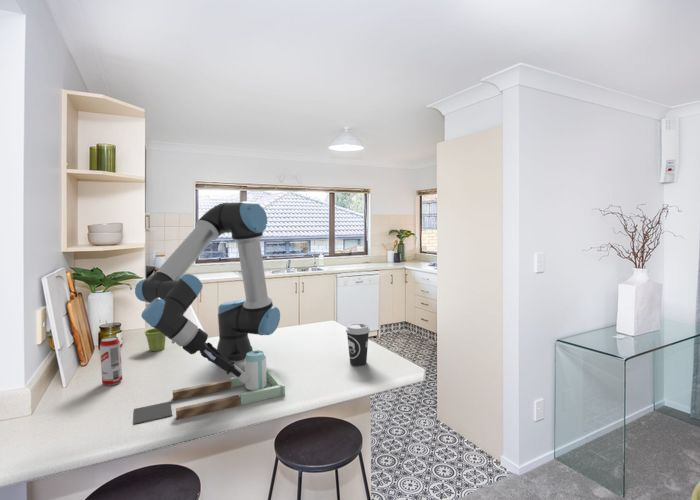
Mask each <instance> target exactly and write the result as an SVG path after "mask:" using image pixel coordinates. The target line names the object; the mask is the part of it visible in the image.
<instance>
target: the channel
mask: <svg viewBox="0 0 700 500" xmlns="http://www.w3.org/2000/svg"><path fill="white" fill-rule="evenodd" d="M230 388H231V381H230V378H229V379H224V380H219V381H214V382H209V383H205V384H204V383H203V384H199V385H192V386H189V387H184V388H182V387H181V388H177V389H174V390H172V400H173V401H176V400H177V399H178V400H182V399H186V398H187V399H188V398H191V396H192V397H196V395H197V396H200V395H201V394H202V395H205V393H207V394H211V393H215V391H216V392H220V390H221V391H224V390H225V389H226V390H230ZM231 389H232V388H231ZM238 406H239V407H240V406H241V404H240V395H239V394H236V395H231V396H226V397H222V398H218V399H217V398H216V399H214V400H208V401H203V402H199V403H195V404H190V405H185V406H181V407H175V417H176V420H182V419H185V418H190V417H193V416H195V417H196V416H199V415H203V414H207V413H212V412H215V411H221V410H224V409H229V408H234V407H238Z"/></svg>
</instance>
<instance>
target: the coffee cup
mask: <svg viewBox="0 0 700 500" xmlns="http://www.w3.org/2000/svg"><path fill="white" fill-rule="evenodd" d="M370 332H371V330H370V327H369V326H368V324H366V323H361V322H360V323H359V322H358V323H357V322H356V323H350V324H348V325H347V327H346V330H345V333H346V337H347V346H348V354H349V355H348V356H349V357H348V358H349V364H350V365H352V366H355V367H361V366H365V365H367V361H368V360H367V359H368V347H369V336H370V335H369V333H370Z"/></svg>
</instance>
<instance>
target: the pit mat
mask: <svg viewBox="0 0 700 500" xmlns="http://www.w3.org/2000/svg"><path fill="white" fill-rule="evenodd" d="M172 416H173V410H172V404H171V401H167V402H162V403H155V404H150V405H145V406H142V407H137V408H133V425H137V424H138V425H139V424H143V423H146V422H153V421H156V420H160V419H165V418H170V417H172Z"/></svg>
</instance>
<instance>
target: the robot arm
mask: <svg viewBox="0 0 700 500" xmlns="http://www.w3.org/2000/svg"><path fill="white" fill-rule="evenodd" d="M267 225H268V216H267V212H266V211H265V209H264V207H263V206H262V205H261V204H260V203H258V202H256V201H238V202H237V201H236V202H234V201H233V202H222V203H219V204H217V205H215V206H213V207H212V208H210V209H209V210H208V211H206V212H205V213H204V214H203V215H202V216H201V217H200V218H198V220H197V221H196V223H195V227H194V229H193V230H192V231H191V232H190V233H189V234H188V236H187V237H186V238H185V239H184V240H183V241H182V242H181V243H180V245H178V247H177V248H176V249H175V250H174V251H173V252H172V254H170V255H169V256H168V258H167V259H166V260H165V261H164V262H163V264H161V266H160V267H158V269H157V270H156V271H155V272H154V274H153V275H151V277H150V278H144V279H141V280H140V281H138V282H137V284H136V285H135V286H134V287H135V288H134V294H135V297H136V298H137V299H138V300H139V301H141V302H145V303H149V304H148V305H147V306H146V307H145V308H144V310H142V313H141V318H142V319H143V320H144V322H145V323H147V324H148V325H149V326H150V327H151V328H153V329H154V328H155V329H156V330H158V331H159V332H161V333H162V334H164V335H165V336H166V337H167V338H168V339H169V340H170V341H171V344H173V345H174V344H176V345H178V346H179V347H182V349H183V350H184V351H185V352H187V353H188V354H190V355H194V354H196V353H197V352H199V353H200V355H201V356H202V357H203V358H205V359H207V360H208V361H209V362H211V363H212V364H214V365H216V366H218V367H219V368H220V369H222V370H223V371H225V372H226V374H227V376H228V375H229V374H230V375H232V377H236V378H237V379H238V380H240V381H241V382H243V383H245V382H246V381H247V380H248V379H249V377H250V376H249V375H248V374H246V373H245V370H244V371H243V370H242V369H241V368H240V367H238V366H237V365H236V364H235V363H236V362H237V361H242V360H244V359H245V357H246V354H247V353H248V352H250V351H254V349H253V348H254V347H252V345H251V342H250V339H249V334H250V335H259V336H270V335H272V334H274V332H275V331H276V330H277V329H278V327H279V324H280V320H281V311H280V309H279V308H278V307H277V306H274V304H273V300H272V298H270V297H269V296H268V290H267V283H266V275H265V269H264V268H265V267H264V260H263V253H262V248H261V247H262V246H261V241H260V240H261V238H262V237H263V235H264V234H263V233H264V232H265V230H266V228H267ZM226 233H231V238H232V240H233V241H234V242H236V244H237V251H238V258H239V265H240V271H241V276H242V283H243V288H244V294H245V299H237V300H231V301H227V302H223V303H221V304H220V305H219V306H218V308H217V311H218V312H217V319H218V320H217V321H218V334H219V337H218V338H219V340H218V343H217V346H216V347H214V346H213V344H212V343H211V342H207V340H208V338H209V334H208V333H206V332H205V331H204V330H203V329H202V328H198V325H197V324H195V323H194V322H193V321H191V319H189V318H187V317H186V316H185V315H184V314H185V313H186V312H187V310H188V309H189V308H190V306H191V305H192V304H193V302H194V301H195V300H196V299H197V298H198V296H199V294H200V293H201V292H202V290H203V286H204V285H203V283H202V282H201V280H200V279H199V278H198V277H197V276H196V275H193V274H190V273H187V271H188V270H189V269H190V267H191V266H192V265H193V264H194V263H195V262H196V261H197V259H198V258H199V257H200V255H202V253H203V252H204V251H205V249H207V247H209V245H210V243H211V242H213V241H215V240H217V239H219V236H221V235H223V234H226ZM235 361H236V362H235Z"/></svg>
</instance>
